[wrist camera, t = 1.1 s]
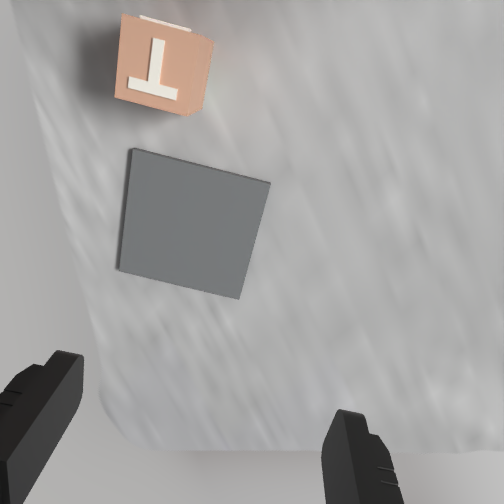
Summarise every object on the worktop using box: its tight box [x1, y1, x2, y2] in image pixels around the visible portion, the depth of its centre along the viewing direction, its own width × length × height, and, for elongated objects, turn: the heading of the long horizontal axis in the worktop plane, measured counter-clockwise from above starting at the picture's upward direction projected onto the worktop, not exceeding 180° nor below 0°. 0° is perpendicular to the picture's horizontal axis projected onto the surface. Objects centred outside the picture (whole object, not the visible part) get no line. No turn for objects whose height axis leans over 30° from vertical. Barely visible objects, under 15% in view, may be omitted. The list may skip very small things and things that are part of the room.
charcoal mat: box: [119, 148, 271, 300], centre depth 36 cm, size 12×12×1 cm
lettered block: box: [114, 14, 214, 116], centre depth 28 cm, size 5×5×6 cm
